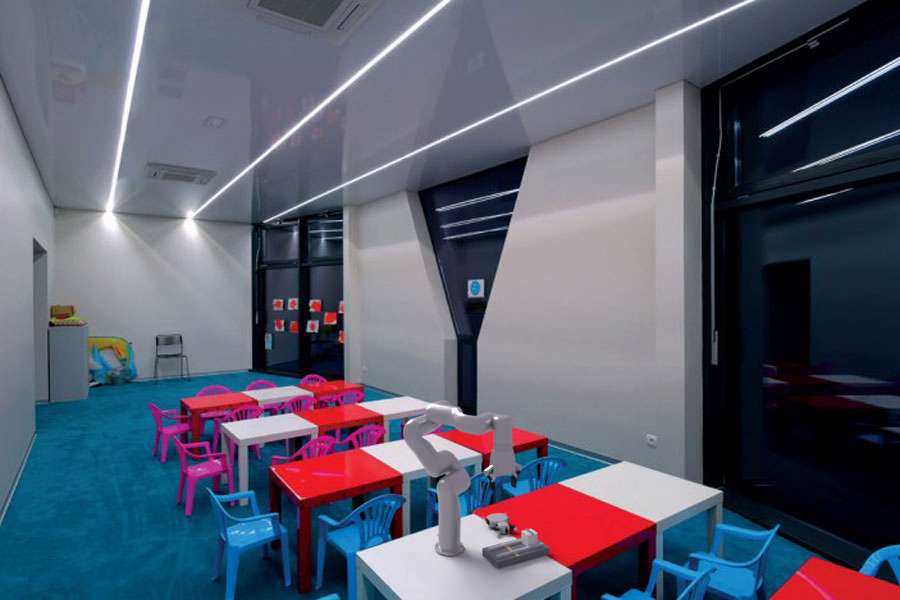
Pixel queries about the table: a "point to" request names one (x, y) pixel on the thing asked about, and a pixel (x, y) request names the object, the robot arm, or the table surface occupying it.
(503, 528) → the robot toy
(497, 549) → the grey slider rail base
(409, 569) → the table surface
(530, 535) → the fader tab
